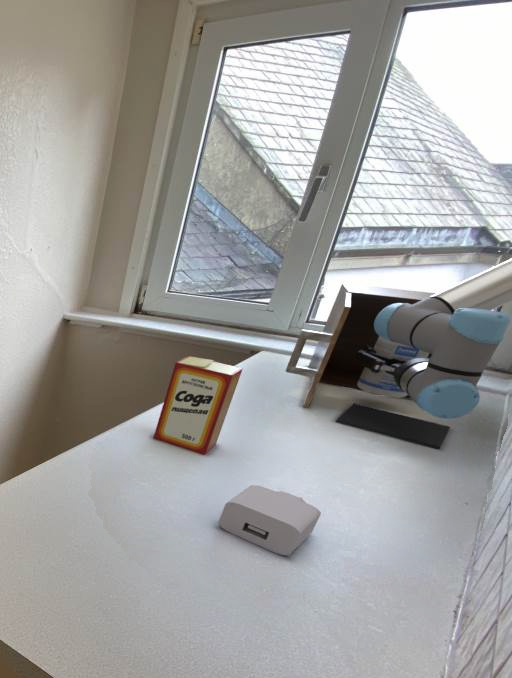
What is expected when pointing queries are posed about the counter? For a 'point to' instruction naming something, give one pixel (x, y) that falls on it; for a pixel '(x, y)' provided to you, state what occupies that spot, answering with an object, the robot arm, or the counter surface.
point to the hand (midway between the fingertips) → (391, 354)
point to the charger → (269, 518)
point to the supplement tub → (382, 380)
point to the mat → (395, 425)
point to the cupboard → (358, 330)
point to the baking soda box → (196, 403)
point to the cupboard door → (325, 354)
